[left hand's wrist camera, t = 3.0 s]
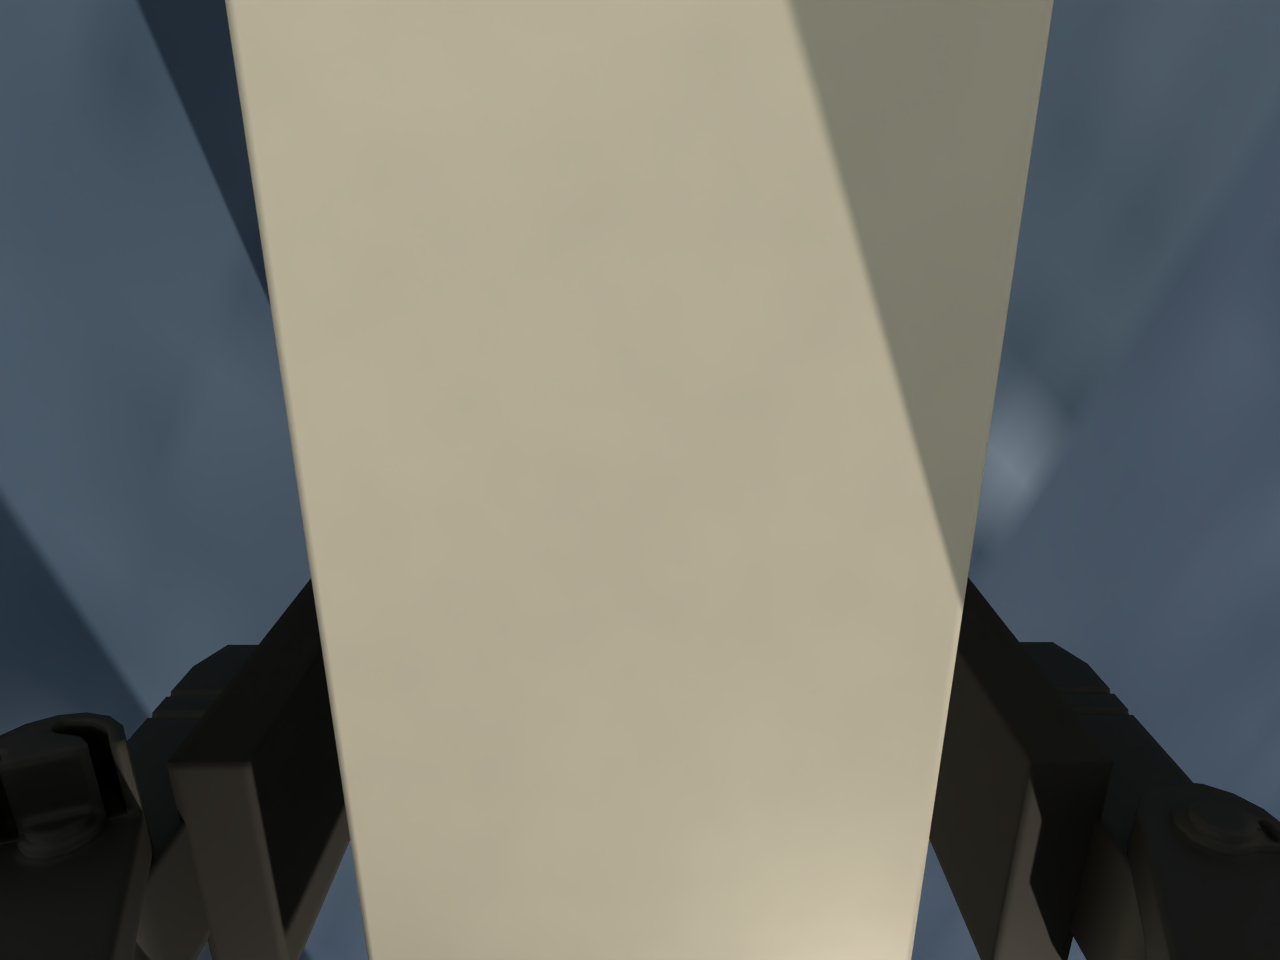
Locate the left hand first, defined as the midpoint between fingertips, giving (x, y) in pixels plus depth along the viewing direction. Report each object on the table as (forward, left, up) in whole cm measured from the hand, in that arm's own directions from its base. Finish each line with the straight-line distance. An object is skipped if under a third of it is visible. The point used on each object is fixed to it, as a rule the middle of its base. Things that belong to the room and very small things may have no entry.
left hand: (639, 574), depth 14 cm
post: (+25, +11, -1) cm, 27 cm away
